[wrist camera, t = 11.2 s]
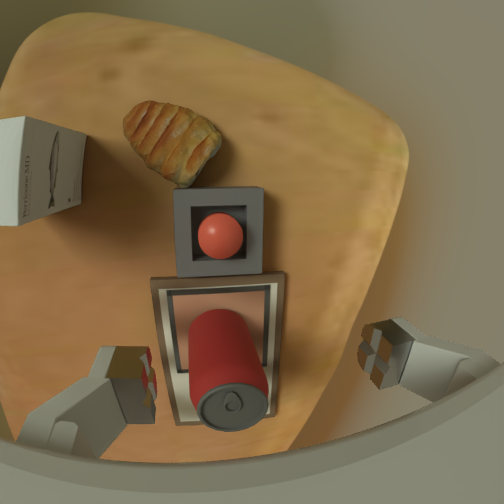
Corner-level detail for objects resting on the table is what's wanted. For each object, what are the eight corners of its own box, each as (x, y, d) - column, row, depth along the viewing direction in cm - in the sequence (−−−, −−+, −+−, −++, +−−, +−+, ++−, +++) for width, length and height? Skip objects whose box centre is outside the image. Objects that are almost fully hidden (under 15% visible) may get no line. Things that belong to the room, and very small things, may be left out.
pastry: (112, 144, 25) (101, 140, 21) (151, 87, 24) (146, 76, 21) (189, 192, 28) (188, 195, 24) (228, 135, 27) (233, 130, 24)
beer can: (246, 302, 31) (275, 373, 20) (248, 352, 33) (275, 429, 21) (183, 309, 30) (182, 385, 18) (192, 359, 32) (197, 439, 20)
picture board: (273, 412, 38) (275, 417, 37) (175, 421, 35) (175, 426, 34) (282, 271, 32) (285, 274, 31) (151, 277, 29) (149, 281, 28)
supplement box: (83, 205, 26) (18, 232, 14) (26, 203, 24) (-47, 226, 12) (89, 132, 24) (26, 113, 12) (32, 135, 22) (-42, 125, 10)
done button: (239, 251, 28) (242, 258, 26) (198, 253, 27) (199, 260, 25) (239, 211, 27) (243, 214, 25) (197, 212, 26) (197, 215, 24)
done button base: (255, 263, 31) (261, 273, 28) (178, 267, 30) (177, 277, 27) (256, 186, 29) (263, 188, 26) (175, 188, 27) (173, 190, 25)
